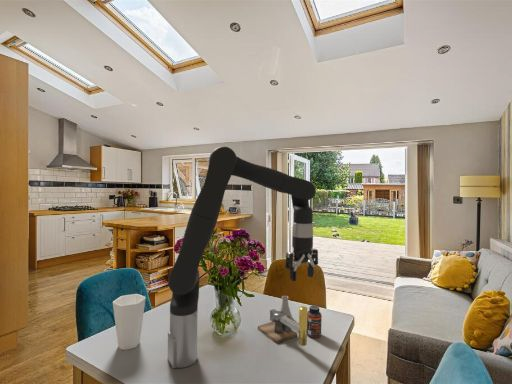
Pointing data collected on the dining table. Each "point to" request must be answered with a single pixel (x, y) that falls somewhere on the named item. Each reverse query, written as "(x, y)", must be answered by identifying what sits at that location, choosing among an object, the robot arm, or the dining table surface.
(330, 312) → the dining table surface
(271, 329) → the base
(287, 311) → the flask
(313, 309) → the supplement bottle
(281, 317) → the lever
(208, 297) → the dining table surface
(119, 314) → the cup
